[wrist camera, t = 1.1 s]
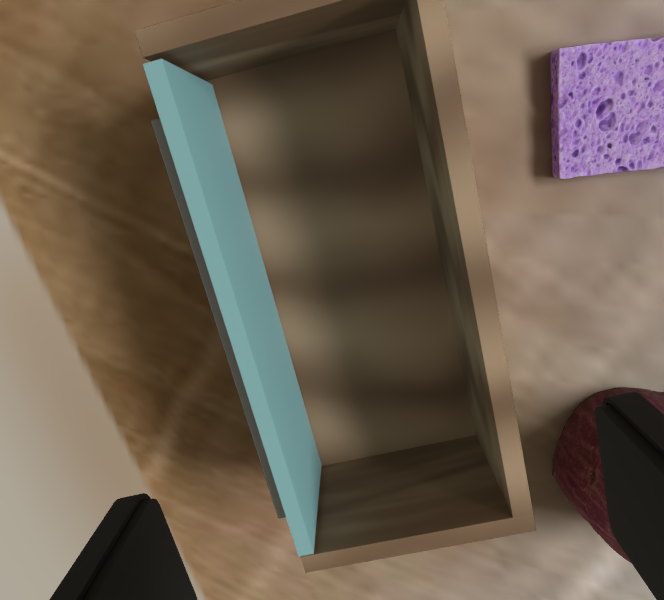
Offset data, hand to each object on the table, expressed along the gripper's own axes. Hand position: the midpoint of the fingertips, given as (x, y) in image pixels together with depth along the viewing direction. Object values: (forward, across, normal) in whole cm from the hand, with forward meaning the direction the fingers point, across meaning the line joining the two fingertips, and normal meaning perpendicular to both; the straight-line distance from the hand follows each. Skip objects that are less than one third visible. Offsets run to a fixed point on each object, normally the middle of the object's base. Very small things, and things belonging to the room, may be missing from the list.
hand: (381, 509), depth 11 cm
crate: (+23, 0, 0) cm, 23 cm away
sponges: (+24, -19, -5) cm, 31 cm away
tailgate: (+21, +6, 0) cm, 22 cm away
